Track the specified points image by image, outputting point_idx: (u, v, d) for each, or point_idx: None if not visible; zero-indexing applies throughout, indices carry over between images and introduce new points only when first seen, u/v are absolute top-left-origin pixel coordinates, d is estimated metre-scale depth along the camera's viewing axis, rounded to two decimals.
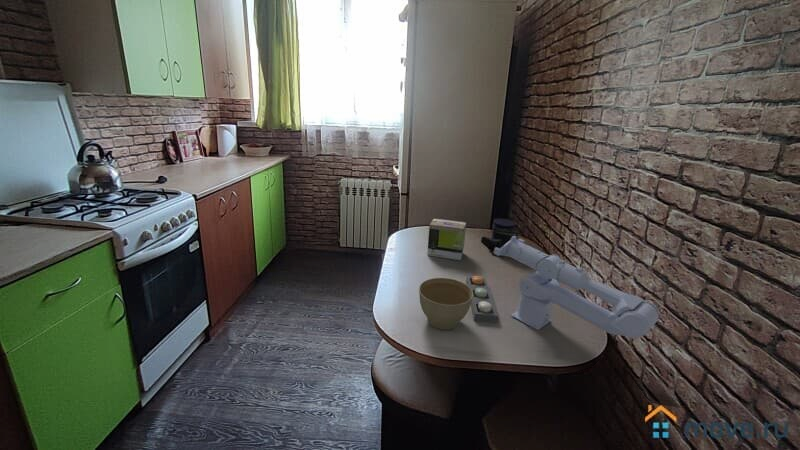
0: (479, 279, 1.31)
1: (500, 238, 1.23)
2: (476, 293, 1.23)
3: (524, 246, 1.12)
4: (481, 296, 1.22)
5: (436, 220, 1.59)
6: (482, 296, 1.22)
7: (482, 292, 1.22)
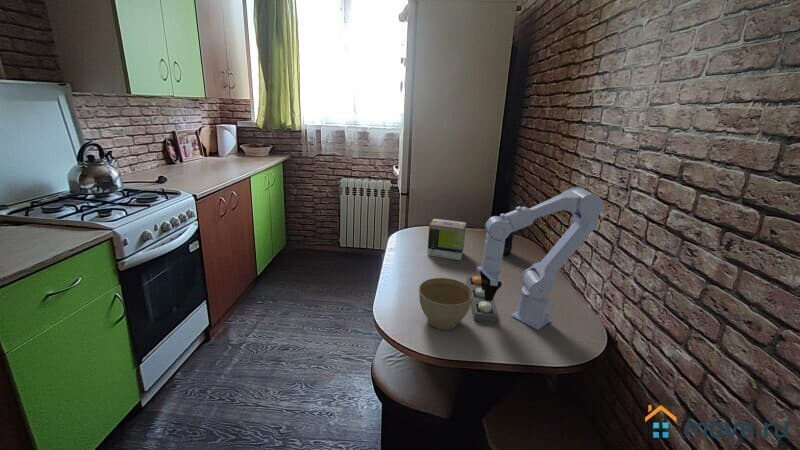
0: (479, 279, 1.31)
1: None
2: (476, 293, 1.23)
3: (484, 256, 1.08)
4: (481, 296, 1.22)
5: (436, 220, 1.59)
6: (482, 296, 1.22)
7: (482, 292, 1.22)
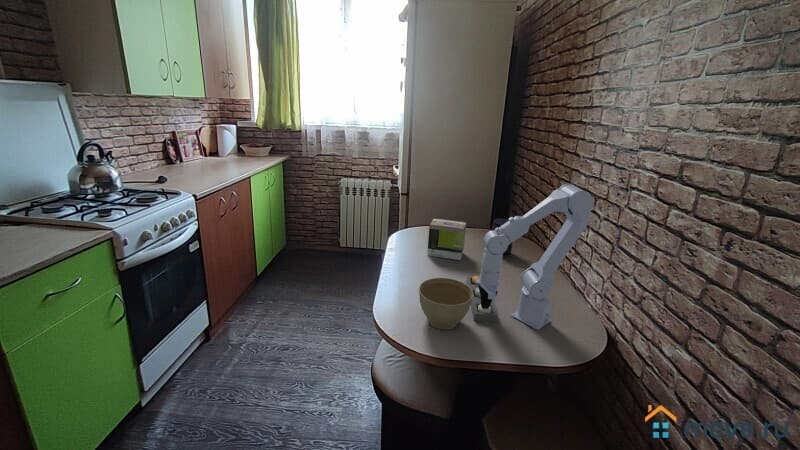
0: None
1: None
2: (476, 293, 1.23)
3: (482, 269, 1.10)
4: None
5: (436, 220, 1.59)
6: None
7: None
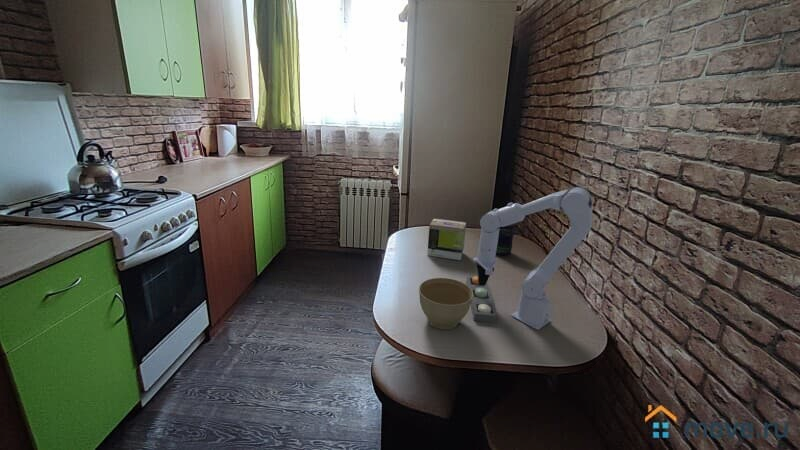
0: None
1: None
2: (476, 293, 1.23)
3: (479, 248, 1.17)
4: (481, 296, 1.22)
5: (436, 220, 1.59)
6: (482, 296, 1.22)
7: (482, 292, 1.22)
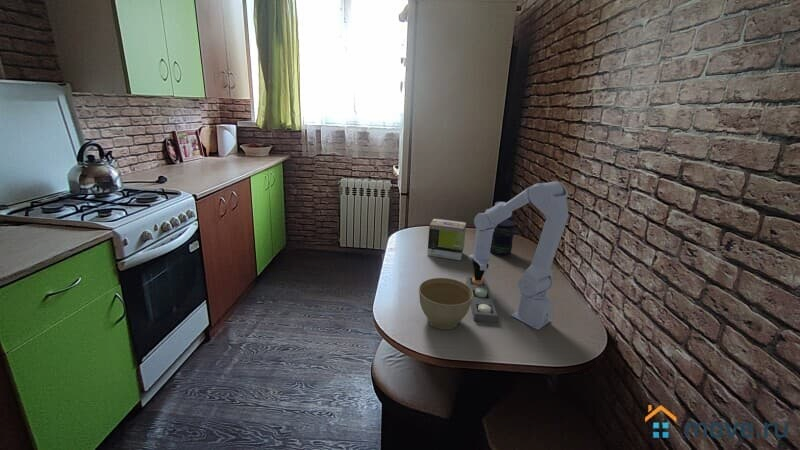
0: (479, 280, 1.31)
1: None
2: (476, 293, 1.23)
3: (475, 245, 1.27)
4: (481, 296, 1.22)
5: (436, 220, 1.59)
6: (482, 296, 1.22)
7: (482, 292, 1.22)
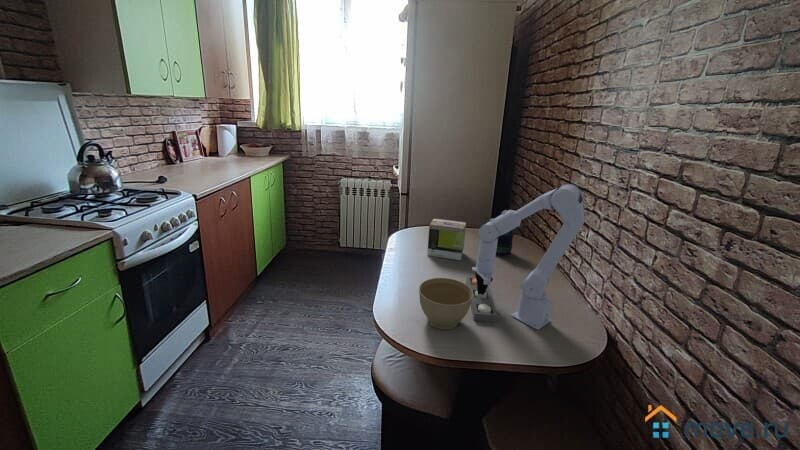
0: None
1: None
2: (476, 296, 1.23)
3: (478, 257, 1.18)
4: None
5: (436, 220, 1.59)
6: None
7: (482, 295, 1.22)
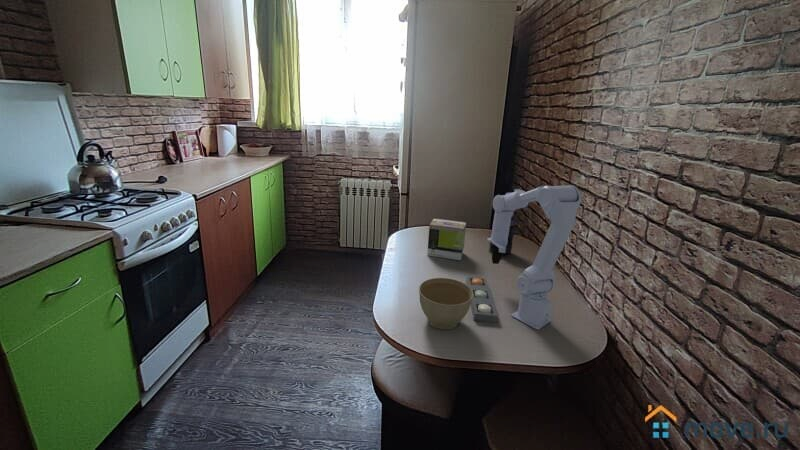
0: (479, 281, 1.31)
1: None
2: (476, 296, 1.23)
3: (493, 228, 1.27)
4: None
5: (436, 220, 1.59)
6: None
7: (482, 295, 1.22)
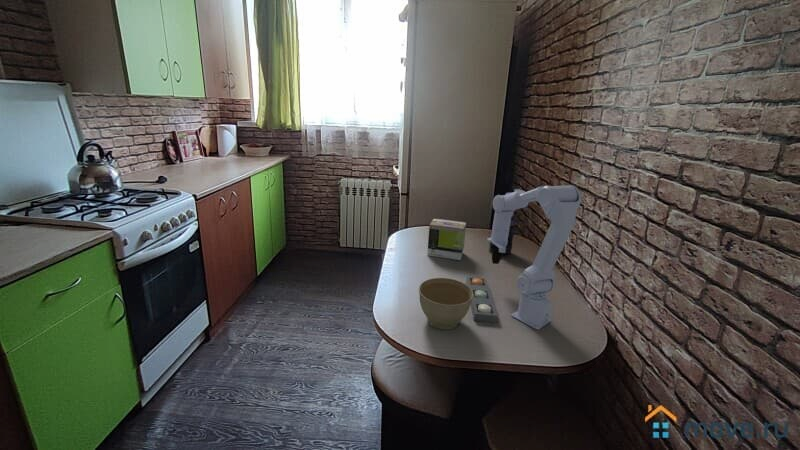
0: (479, 281, 1.31)
1: None
2: (476, 296, 1.23)
3: (493, 228, 1.27)
4: None
5: (436, 220, 1.59)
6: None
7: (482, 295, 1.22)
